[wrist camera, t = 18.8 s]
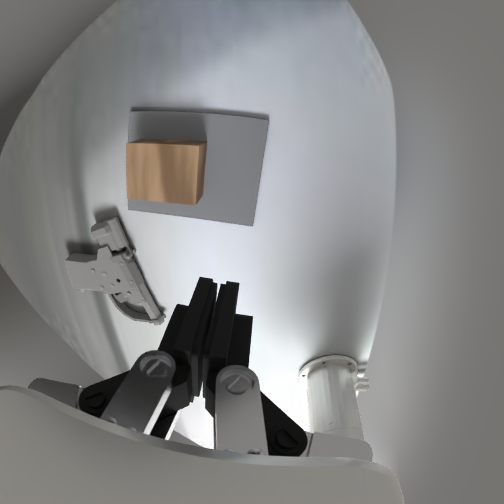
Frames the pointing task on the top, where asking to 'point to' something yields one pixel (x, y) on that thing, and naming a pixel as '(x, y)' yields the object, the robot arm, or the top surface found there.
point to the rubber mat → (210, 161)
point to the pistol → (113, 272)
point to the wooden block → (166, 170)
